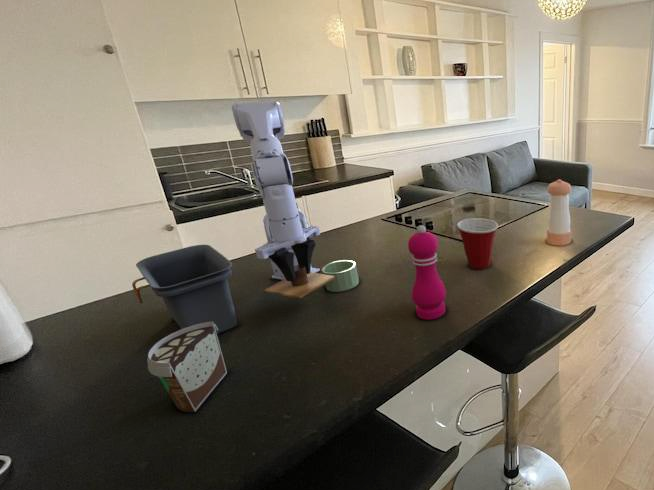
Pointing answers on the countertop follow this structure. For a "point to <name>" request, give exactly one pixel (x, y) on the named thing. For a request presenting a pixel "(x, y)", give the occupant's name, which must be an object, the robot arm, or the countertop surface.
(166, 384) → the food container
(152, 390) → the countertop surface
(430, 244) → the pepper mill
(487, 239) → the plastic cup
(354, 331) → the countertop surface
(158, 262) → the storage bin
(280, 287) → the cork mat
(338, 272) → the green cup
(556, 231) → the salt shaker
